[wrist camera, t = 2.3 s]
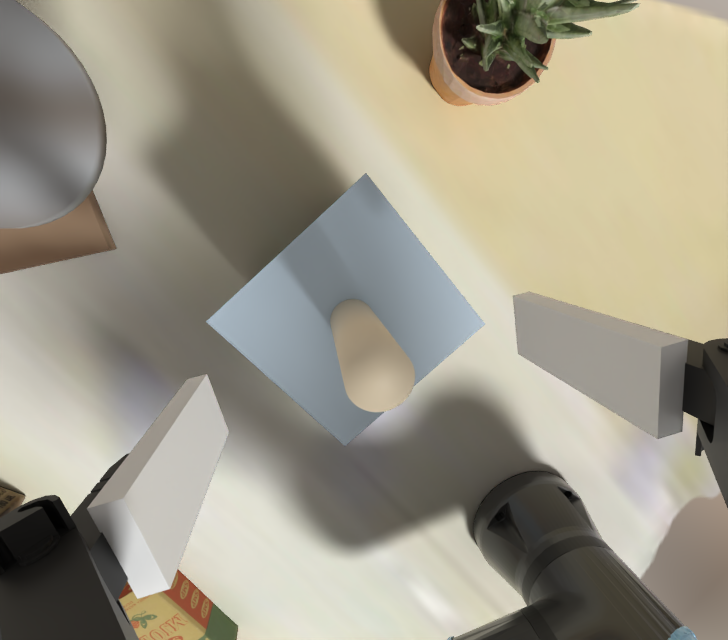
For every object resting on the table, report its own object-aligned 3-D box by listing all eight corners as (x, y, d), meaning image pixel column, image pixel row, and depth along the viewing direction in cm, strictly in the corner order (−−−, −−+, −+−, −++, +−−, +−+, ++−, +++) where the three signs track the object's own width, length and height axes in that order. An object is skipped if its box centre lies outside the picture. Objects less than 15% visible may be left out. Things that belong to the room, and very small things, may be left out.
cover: (418, 287, 38) (586, 379, 15) (331, 365, 39) (364, 565, 16) (342, 195, 34) (409, 132, 11) (247, 283, 35) (133, 387, 12)
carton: (161, 548, 42) (146, 583, 38) (241, 624, 46) (234, 662, 42) (101, 584, 42) (78, 623, 38) (187, 656, 46) (175, 698, 42)
